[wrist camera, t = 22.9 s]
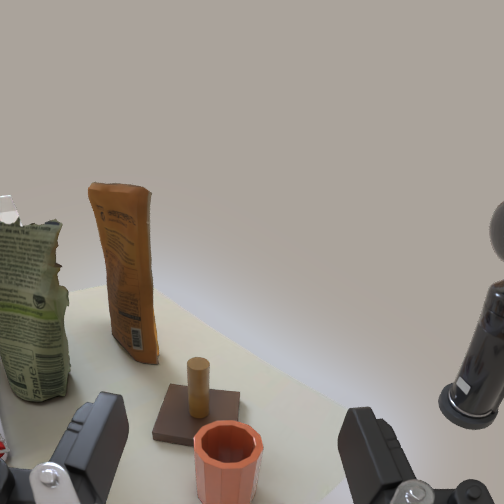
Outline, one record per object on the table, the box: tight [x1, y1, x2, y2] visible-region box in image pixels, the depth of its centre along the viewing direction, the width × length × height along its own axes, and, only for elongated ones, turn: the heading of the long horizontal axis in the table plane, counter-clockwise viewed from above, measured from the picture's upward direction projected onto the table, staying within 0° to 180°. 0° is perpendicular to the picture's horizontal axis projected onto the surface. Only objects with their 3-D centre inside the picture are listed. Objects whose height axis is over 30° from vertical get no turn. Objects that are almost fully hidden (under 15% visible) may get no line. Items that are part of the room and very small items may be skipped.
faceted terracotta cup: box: [194, 420, 263, 504], centre depth 26 cm, size 6×6×9 cm
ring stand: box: [152, 357, 240, 446], centre depth 37 cm, size 10×10×10 cm
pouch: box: [0, 217, 71, 402], centre depth 35 cm, size 11×12×25 cm
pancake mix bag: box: [88, 182, 159, 364], centre depth 49 cm, size 7×19×28 cm, turn 46°
